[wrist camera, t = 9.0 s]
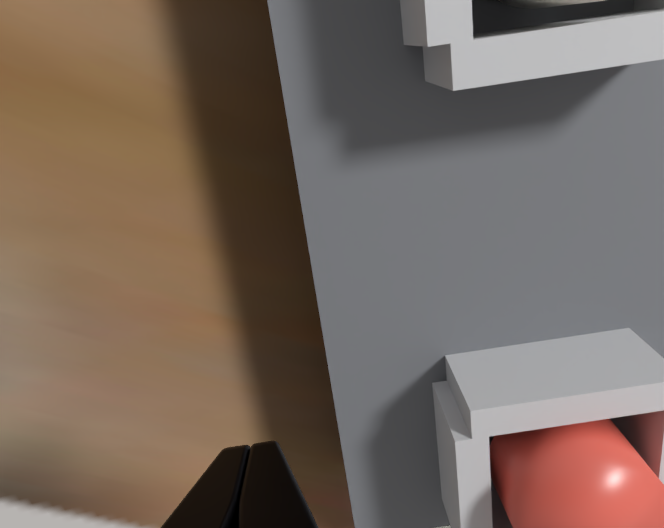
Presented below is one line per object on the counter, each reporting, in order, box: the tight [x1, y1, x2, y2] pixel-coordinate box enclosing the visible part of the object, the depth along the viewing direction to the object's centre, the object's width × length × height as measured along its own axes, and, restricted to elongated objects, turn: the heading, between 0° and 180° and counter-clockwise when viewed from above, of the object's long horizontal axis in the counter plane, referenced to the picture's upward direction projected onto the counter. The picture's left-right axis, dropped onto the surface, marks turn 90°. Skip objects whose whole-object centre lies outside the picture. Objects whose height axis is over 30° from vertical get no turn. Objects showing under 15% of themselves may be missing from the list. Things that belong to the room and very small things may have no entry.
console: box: [267, 0, 664, 528], centre depth 17 cm, size 14×24×7 cm, turn 8°
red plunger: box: [489, 419, 664, 528], centre depth 17 cm, size 4×4×3 cm
